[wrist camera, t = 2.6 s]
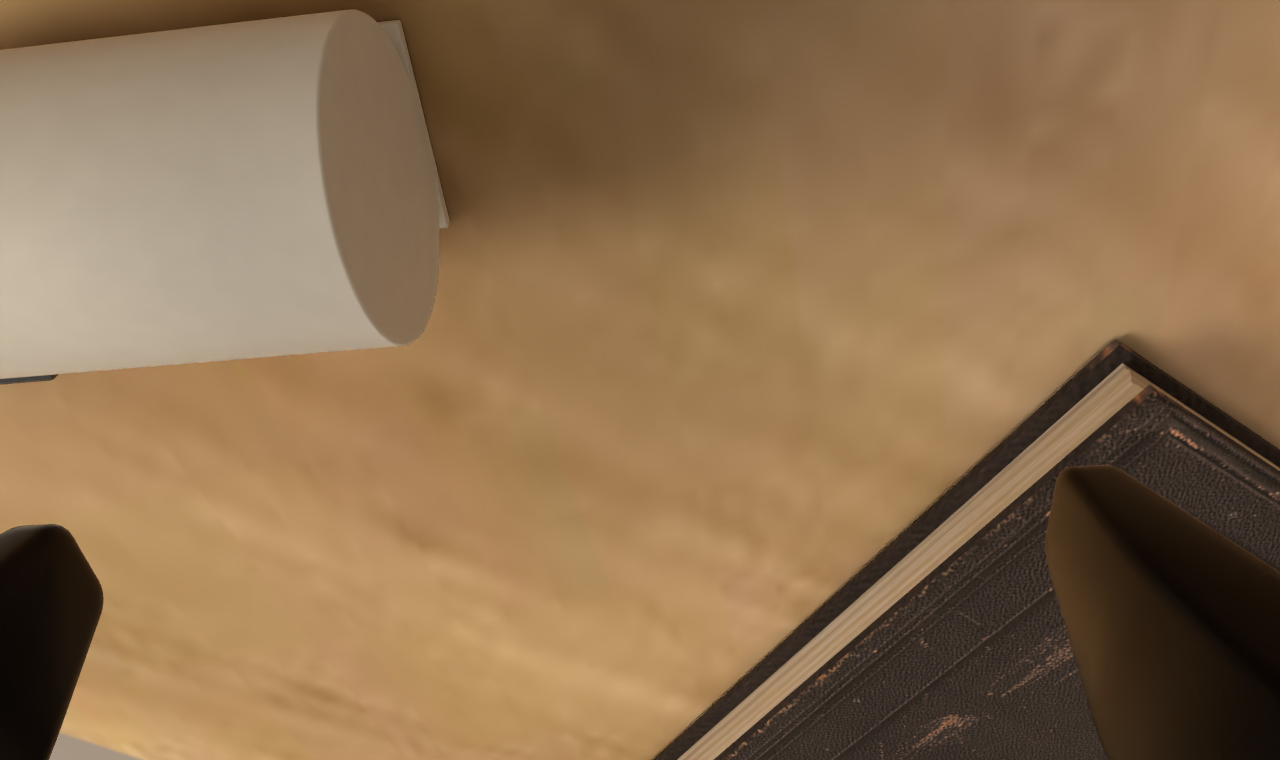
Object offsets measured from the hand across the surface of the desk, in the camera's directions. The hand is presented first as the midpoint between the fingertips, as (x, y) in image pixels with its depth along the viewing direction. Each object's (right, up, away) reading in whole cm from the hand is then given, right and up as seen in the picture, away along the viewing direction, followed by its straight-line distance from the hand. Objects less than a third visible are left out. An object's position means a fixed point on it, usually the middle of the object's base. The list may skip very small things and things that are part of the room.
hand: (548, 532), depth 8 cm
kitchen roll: (-9, +5, +9) cm, 13 cm away
